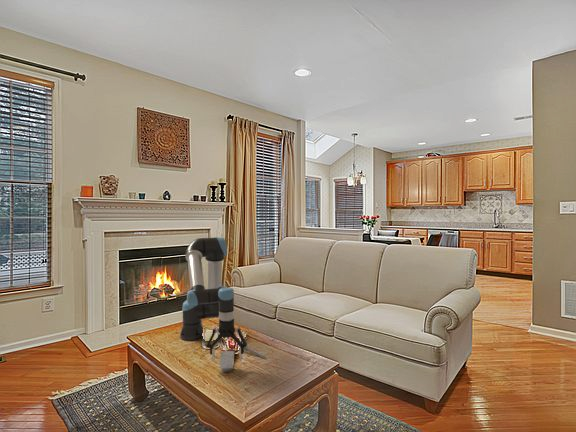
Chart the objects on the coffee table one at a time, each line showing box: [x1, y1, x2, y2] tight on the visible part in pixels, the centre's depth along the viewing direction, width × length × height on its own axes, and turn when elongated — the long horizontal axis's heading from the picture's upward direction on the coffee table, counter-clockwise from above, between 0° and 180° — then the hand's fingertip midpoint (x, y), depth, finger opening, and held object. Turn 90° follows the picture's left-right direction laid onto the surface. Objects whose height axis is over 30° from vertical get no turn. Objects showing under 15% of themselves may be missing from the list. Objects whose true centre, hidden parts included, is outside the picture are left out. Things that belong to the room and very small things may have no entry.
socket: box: [219, 350, 235, 369], centre depth 172 cm, size 6×6×6 cm
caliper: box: [240, 340, 268, 360], centre depth 190 cm, size 20×1×6 cm, turn 58°
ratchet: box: [221, 349, 236, 374], centre depth 181 cm, size 22×6×6 cm, turn 2°
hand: (227, 360), depth 173 cm, fingers open, 13 cm apart
